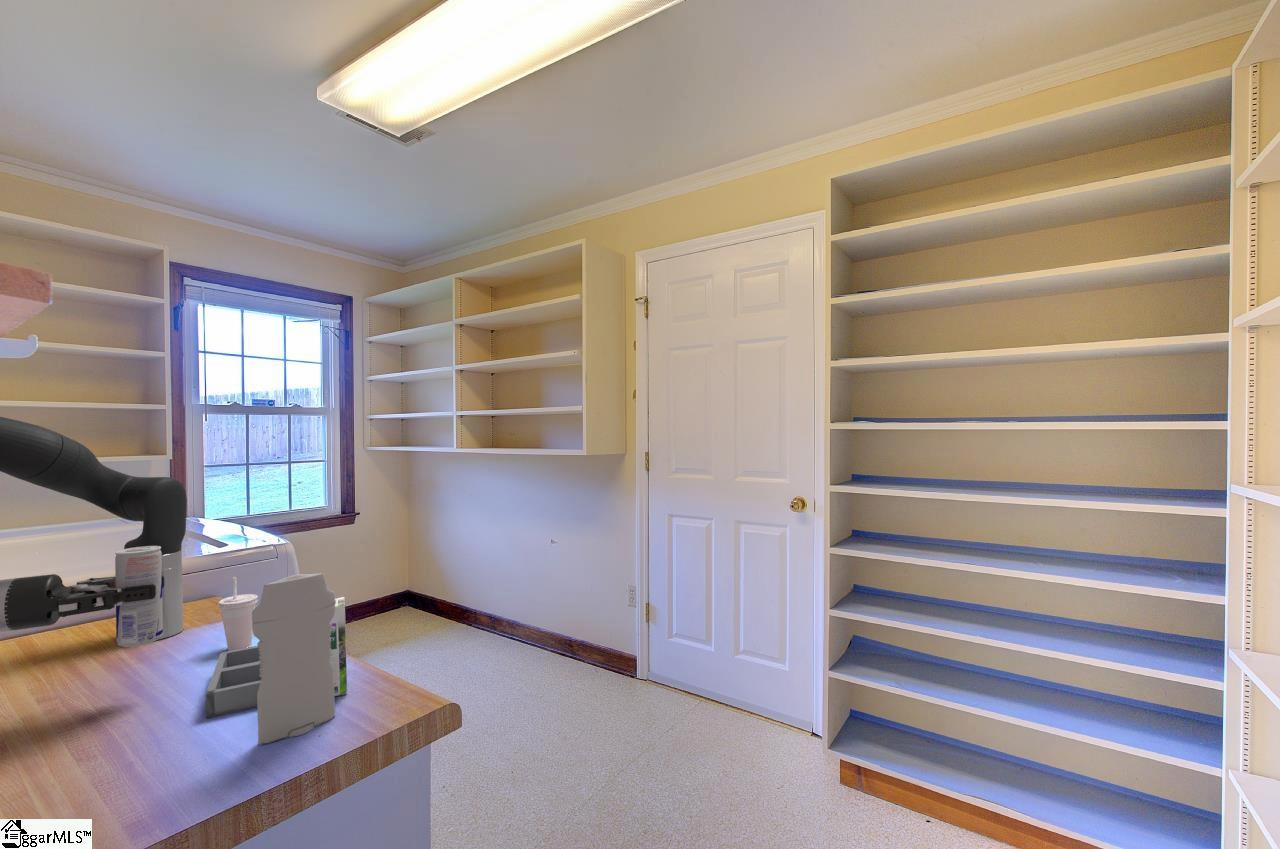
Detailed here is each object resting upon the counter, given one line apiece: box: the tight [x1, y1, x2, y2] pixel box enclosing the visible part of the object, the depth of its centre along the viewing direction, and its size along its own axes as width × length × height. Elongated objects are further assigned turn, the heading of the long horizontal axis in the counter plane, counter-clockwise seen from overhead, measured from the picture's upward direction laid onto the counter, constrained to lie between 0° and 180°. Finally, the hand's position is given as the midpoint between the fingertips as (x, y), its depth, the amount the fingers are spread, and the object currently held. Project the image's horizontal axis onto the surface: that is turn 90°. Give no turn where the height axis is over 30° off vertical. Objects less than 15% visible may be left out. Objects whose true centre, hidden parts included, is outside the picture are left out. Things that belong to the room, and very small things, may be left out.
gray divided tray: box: [205, 645, 261, 719], centre depth 95 cm, size 18×10×4 cm, turn 31°
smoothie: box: [218, 576, 259, 651], centre depth 112 cm, size 6×6×14 cm
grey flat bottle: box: [252, 572, 336, 746], centre depth 81 cm, size 11×4×22 cm, turn 139°
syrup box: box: [330, 596, 348, 697], centre depth 93 cm, size 6×6×14 cm
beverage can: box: [114, 546, 163, 648], centre depth 91 cm, size 6×6×15 cm
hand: (159, 586), depth 93 cm, fingers closed on beverage can, 5 cm apart
